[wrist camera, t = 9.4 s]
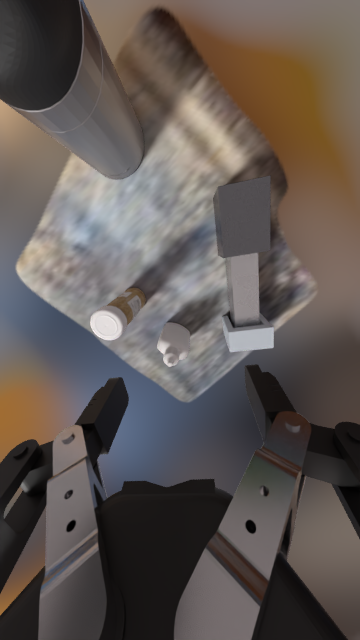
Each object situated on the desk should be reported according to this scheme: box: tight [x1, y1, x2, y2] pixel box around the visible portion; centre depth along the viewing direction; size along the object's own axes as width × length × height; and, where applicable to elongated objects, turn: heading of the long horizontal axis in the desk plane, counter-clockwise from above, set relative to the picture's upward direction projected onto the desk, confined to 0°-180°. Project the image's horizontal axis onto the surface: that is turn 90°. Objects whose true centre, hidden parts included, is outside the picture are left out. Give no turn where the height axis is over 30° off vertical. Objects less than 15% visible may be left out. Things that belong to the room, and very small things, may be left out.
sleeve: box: [213, 176, 270, 258], centre depth 29 cm, size 9×6×7 cm
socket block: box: [222, 312, 274, 352], centre depth 35 cm, size 4×7×8 cm, turn 100°
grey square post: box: [226, 253, 260, 328], centre depth 33 cm, size 16×4×5 cm, turn 10°
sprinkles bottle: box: [90, 288, 146, 340], centre depth 32 cm, size 5×5×13 cm
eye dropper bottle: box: [157, 322, 190, 367], centre depth 34 cm, size 4×6×12 cm
